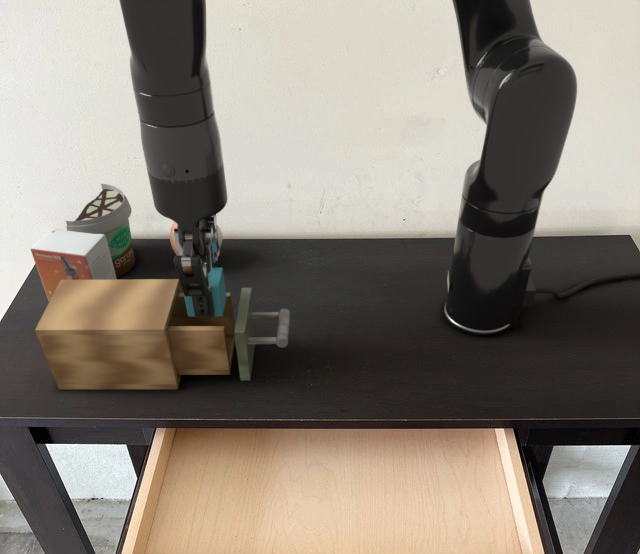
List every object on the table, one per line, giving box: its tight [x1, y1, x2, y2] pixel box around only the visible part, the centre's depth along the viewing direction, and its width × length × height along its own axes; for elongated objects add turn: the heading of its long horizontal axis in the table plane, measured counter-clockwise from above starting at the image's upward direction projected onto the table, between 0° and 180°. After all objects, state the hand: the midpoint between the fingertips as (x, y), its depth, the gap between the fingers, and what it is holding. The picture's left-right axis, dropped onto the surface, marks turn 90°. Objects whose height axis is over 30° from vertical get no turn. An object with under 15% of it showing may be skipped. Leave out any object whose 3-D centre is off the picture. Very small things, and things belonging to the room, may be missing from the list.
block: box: [184, 267, 227, 316], centre depth 76 cm, size 4×4×4 cm
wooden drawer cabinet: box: [35, 278, 183, 390], centre depth 80 cm, size 15×10×9 cm
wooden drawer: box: [167, 287, 291, 381], centre depth 80 cm, size 18×9×7 cm, turn 89°
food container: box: [65, 183, 136, 278], centre depth 96 cm, size 12×6×10 cm, turn 168°
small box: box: [30, 227, 118, 303], centre depth 88 cm, size 8×6×10 cm
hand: (208, 304), depth 77 cm, fingers closed on block, 4 cm apart
